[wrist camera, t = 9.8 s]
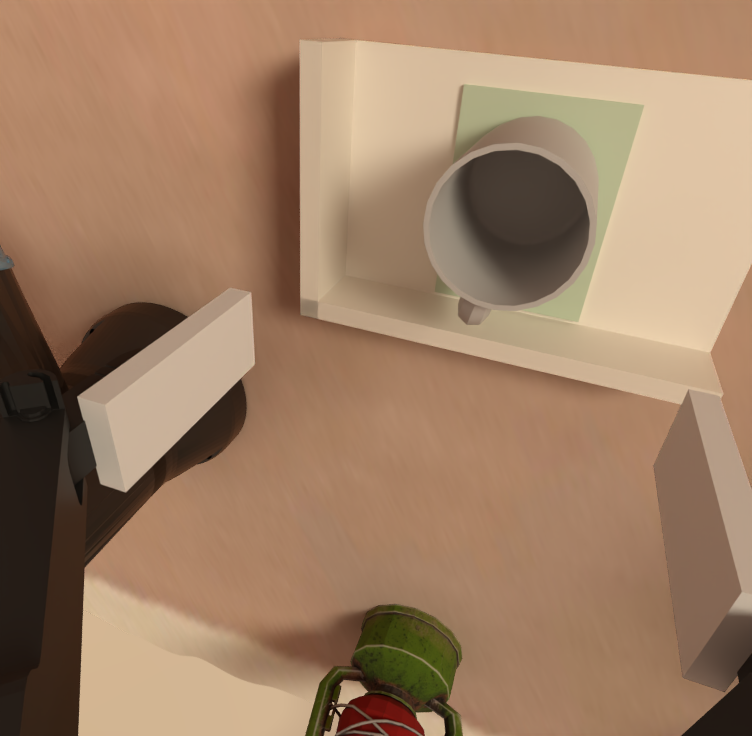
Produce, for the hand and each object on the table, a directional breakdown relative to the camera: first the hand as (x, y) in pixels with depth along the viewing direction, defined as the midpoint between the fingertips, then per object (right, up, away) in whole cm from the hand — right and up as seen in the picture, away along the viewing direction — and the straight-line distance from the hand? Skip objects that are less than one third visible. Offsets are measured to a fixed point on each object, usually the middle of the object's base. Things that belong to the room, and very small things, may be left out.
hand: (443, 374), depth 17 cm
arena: (+7, +9, +15) cm, 19 cm away
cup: (+6, +9, +15) cm, 19 cm away
